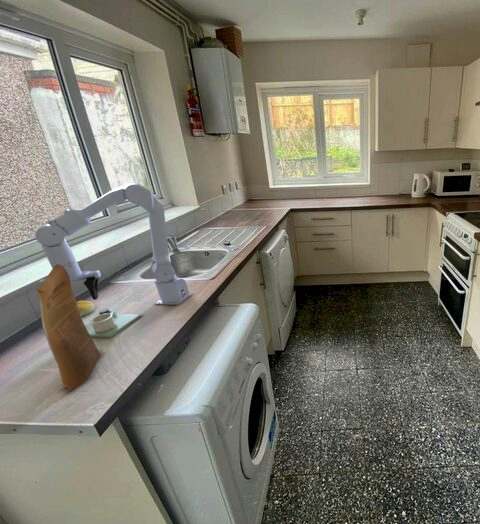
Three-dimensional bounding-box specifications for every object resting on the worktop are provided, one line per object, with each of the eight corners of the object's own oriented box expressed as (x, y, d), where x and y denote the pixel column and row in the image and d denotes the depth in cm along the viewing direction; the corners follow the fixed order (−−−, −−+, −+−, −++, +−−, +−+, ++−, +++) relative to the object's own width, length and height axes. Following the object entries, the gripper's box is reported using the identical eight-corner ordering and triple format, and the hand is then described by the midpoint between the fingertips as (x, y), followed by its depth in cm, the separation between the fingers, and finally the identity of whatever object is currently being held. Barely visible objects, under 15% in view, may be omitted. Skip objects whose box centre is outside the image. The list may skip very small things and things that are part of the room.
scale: (141, 316, 101) (139, 310, 100) (110, 337, 90) (107, 331, 89) (107, 314, 103) (104, 309, 102) (72, 336, 92) (69, 329, 91)
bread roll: (65, 322, 100) (60, 312, 98) (67, 312, 106) (62, 303, 105) (95, 313, 105) (91, 303, 103) (95, 304, 111) (91, 295, 110)
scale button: (111, 312, 100) (110, 308, 100) (105, 316, 98) (103, 312, 97) (105, 312, 101) (103, 308, 100) (98, 316, 98) (96, 312, 98)
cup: (121, 323, 96) (116, 313, 94) (105, 333, 91) (100, 323, 89) (106, 322, 97) (102, 312, 95) (90, 333, 91) (85, 322, 90)
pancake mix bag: (112, 344, 87) (73, 259, 76) (90, 389, 71) (37, 288, 60) (84, 351, 84) (40, 264, 73) (55, 399, 68) (-7, 296, 57)
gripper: (25, 272, 83) (47, 312, 88) (87, 262, 87) (104, 301, 93) (39, 264, 89) (58, 302, 94) (96, 255, 94) (111, 292, 99)
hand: (81, 301), depth 94 cm, fingers open, 7 cm apart
